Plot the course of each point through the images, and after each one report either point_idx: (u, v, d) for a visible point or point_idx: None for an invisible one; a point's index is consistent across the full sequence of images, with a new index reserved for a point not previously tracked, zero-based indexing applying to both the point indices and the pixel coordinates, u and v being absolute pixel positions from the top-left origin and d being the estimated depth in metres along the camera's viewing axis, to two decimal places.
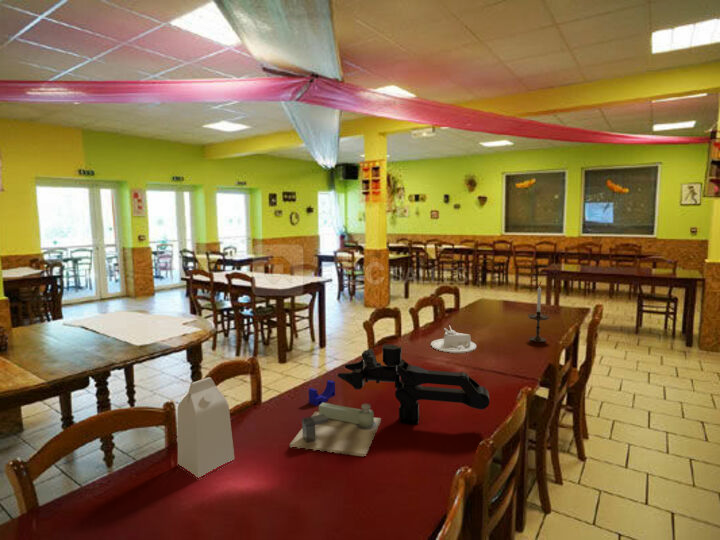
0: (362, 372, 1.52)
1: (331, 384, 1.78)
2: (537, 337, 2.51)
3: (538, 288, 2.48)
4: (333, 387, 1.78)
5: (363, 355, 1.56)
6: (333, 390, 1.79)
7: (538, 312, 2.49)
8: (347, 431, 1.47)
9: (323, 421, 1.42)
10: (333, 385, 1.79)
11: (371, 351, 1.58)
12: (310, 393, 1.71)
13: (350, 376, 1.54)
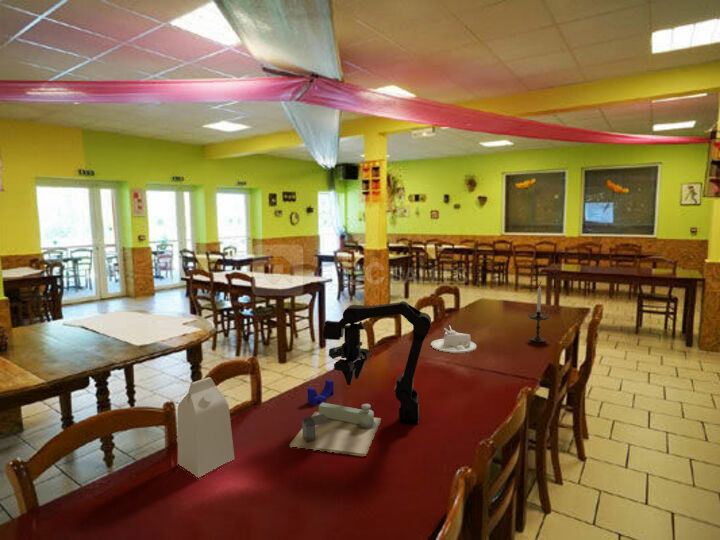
0: (337, 361, 1.53)
1: (330, 383, 1.78)
2: (537, 337, 2.51)
3: (538, 288, 2.48)
4: (332, 386, 1.79)
5: (332, 357, 1.59)
6: (332, 389, 1.79)
7: (538, 312, 2.49)
8: (347, 431, 1.47)
9: (323, 421, 1.42)
10: (332, 384, 1.79)
11: None
12: (309, 393, 1.71)
13: (346, 372, 1.55)
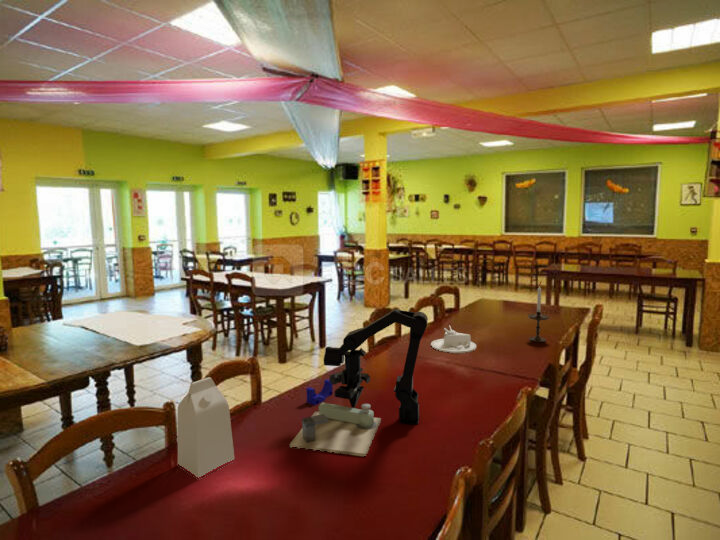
0: None
1: (328, 383, 1.79)
2: (537, 337, 2.51)
3: (538, 288, 2.48)
4: (330, 386, 1.79)
5: None
6: (330, 389, 1.79)
7: (538, 312, 2.49)
8: (347, 431, 1.47)
9: (323, 421, 1.42)
10: (331, 384, 1.79)
11: (334, 374, 1.62)
12: (308, 392, 1.72)
13: None
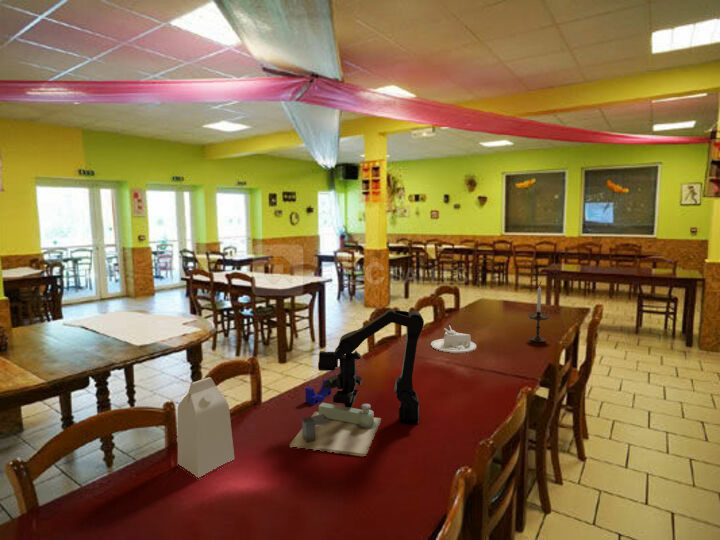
0: (335, 393, 1.50)
1: None
2: (537, 337, 2.51)
3: (538, 288, 2.48)
4: None
5: (327, 388, 1.56)
6: None
7: (538, 312, 2.49)
8: (347, 431, 1.47)
9: (323, 421, 1.42)
10: None
11: (327, 379, 1.58)
12: (307, 392, 1.72)
13: None
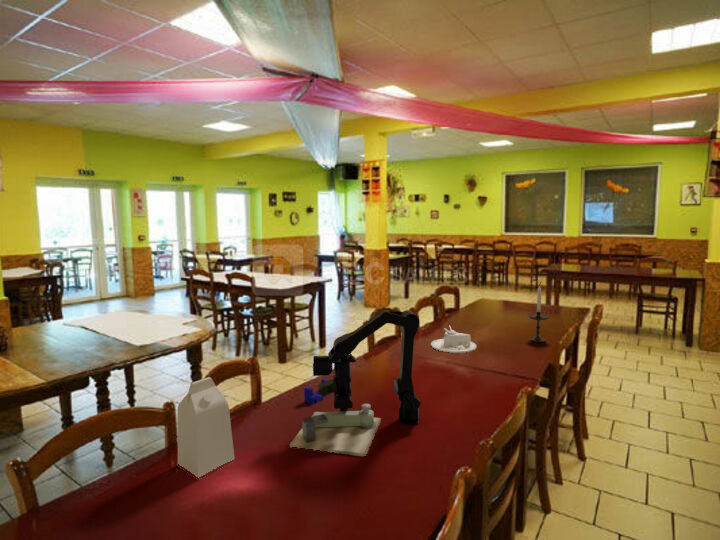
0: (335, 398, 1.45)
1: None
2: (537, 337, 2.51)
3: (538, 288, 2.48)
4: None
5: (322, 395, 1.50)
6: None
7: (538, 312, 2.49)
8: (347, 431, 1.47)
9: (323, 421, 1.42)
10: None
11: (320, 385, 1.52)
12: (306, 392, 1.72)
13: None
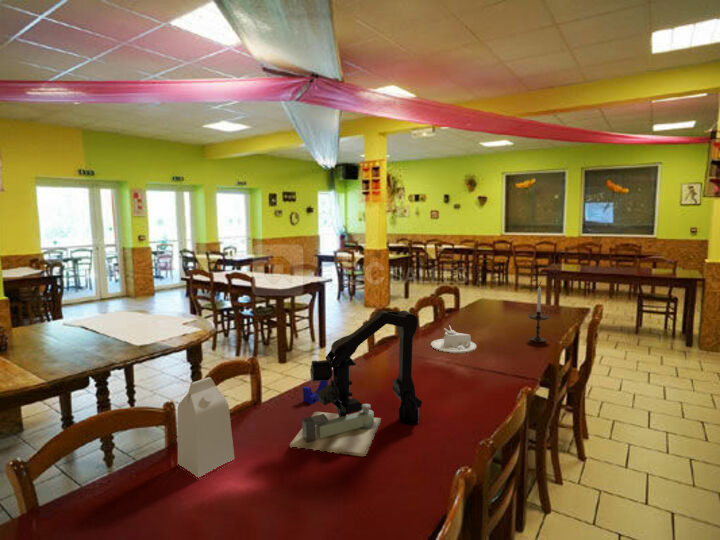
0: (344, 403, 1.41)
1: (324, 382, 1.80)
2: (537, 337, 2.51)
3: (538, 288, 2.48)
4: None
5: (325, 403, 1.43)
6: None
7: (538, 312, 2.49)
8: (347, 431, 1.47)
9: (323, 421, 1.42)
10: (327, 383, 1.81)
11: (320, 394, 1.45)
12: (304, 391, 1.73)
13: None
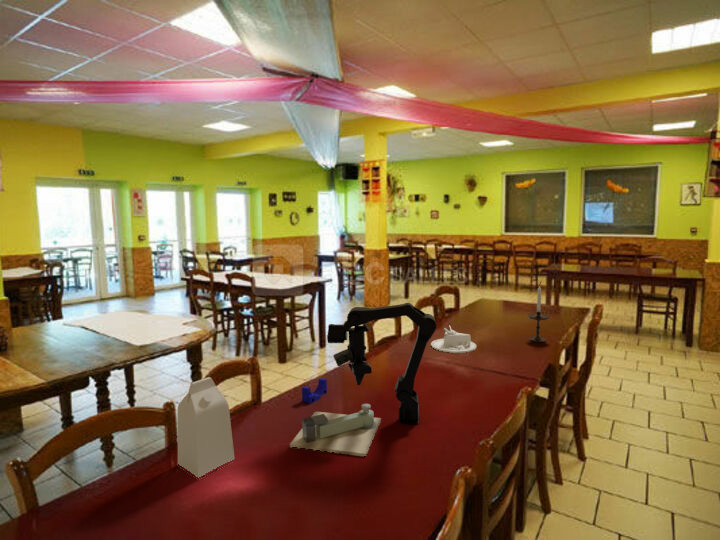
0: (354, 365, 1.49)
1: (323, 382, 1.80)
2: (537, 337, 2.51)
3: (538, 288, 2.48)
4: (325, 385, 1.81)
5: (339, 364, 1.53)
6: (325, 388, 1.81)
7: (538, 312, 2.49)
8: (347, 431, 1.47)
9: (323, 421, 1.42)
10: (325, 382, 1.81)
11: (335, 356, 1.55)
12: (303, 391, 1.73)
13: None
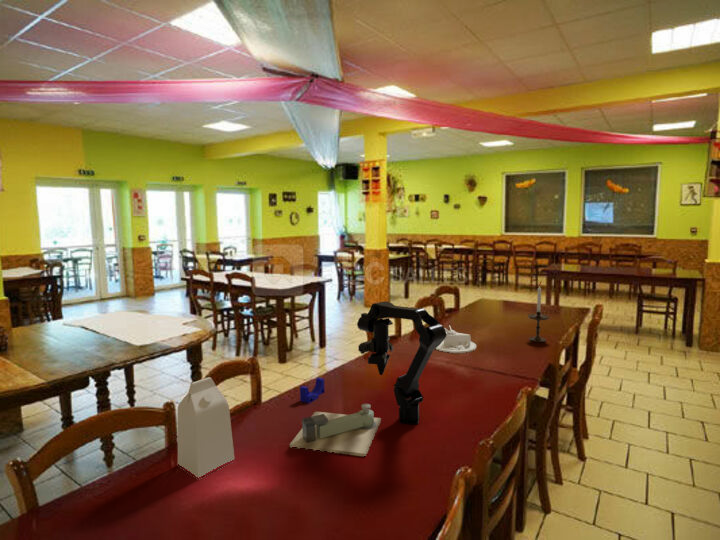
0: (370, 355, 1.59)
1: (321, 381, 1.81)
2: (537, 337, 2.51)
3: (538, 288, 2.48)
4: (323, 384, 1.81)
5: (361, 352, 1.64)
6: (323, 387, 1.82)
7: (538, 312, 2.49)
8: (347, 431, 1.47)
9: (323, 421, 1.42)
10: (323, 382, 1.82)
11: (361, 344, 1.67)
12: (301, 391, 1.73)
13: None
